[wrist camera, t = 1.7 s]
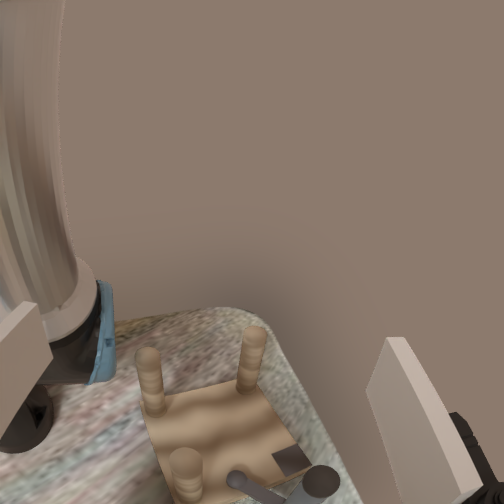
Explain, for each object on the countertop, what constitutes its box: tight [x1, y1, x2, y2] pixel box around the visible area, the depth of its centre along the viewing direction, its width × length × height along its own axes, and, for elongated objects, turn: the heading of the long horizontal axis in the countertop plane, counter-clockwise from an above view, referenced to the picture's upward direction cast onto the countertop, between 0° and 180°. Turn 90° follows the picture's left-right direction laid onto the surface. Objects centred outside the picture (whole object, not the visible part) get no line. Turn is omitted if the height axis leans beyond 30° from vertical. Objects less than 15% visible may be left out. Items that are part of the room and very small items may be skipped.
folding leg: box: [226, 465, 340, 504], centre depth 26 cm, size 11×3×12 cm, turn 56°
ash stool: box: [135, 326, 312, 504], centre depth 35 cm, size 18×18×14 cm
